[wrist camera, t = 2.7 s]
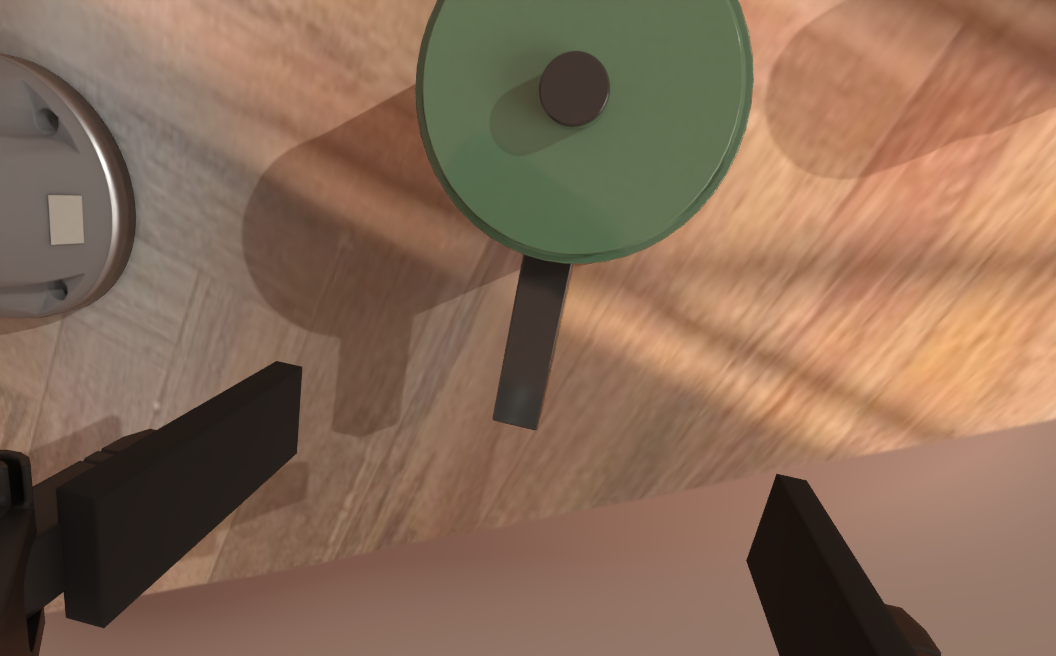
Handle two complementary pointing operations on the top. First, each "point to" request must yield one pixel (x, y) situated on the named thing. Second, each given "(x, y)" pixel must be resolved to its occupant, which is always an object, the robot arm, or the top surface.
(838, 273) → the top surface
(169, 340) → the top surface
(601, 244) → the pot
